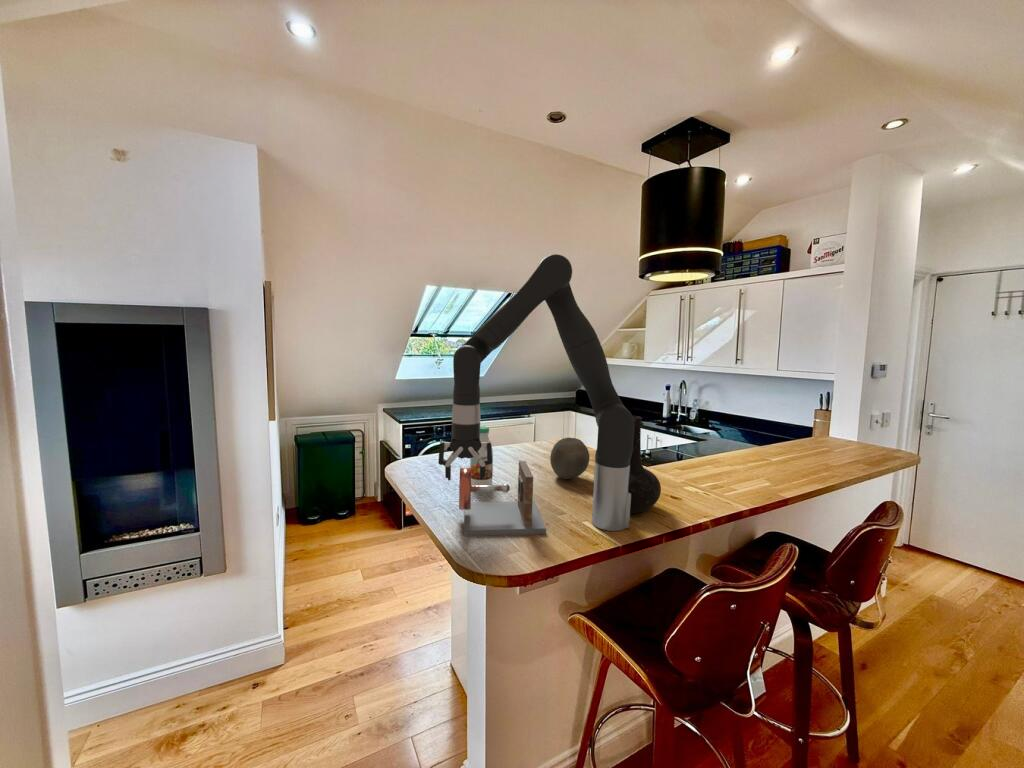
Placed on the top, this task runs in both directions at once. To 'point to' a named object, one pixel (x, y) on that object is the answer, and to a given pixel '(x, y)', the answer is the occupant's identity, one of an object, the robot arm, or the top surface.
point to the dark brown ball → (569, 458)
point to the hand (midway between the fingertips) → (465, 479)
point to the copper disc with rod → (473, 488)
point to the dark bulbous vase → (641, 477)
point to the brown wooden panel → (525, 492)
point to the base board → (500, 519)
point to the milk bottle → (476, 466)
